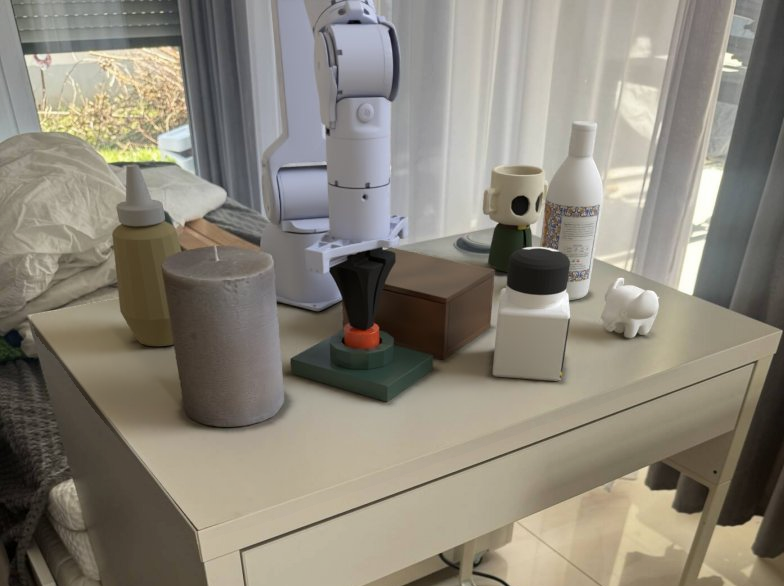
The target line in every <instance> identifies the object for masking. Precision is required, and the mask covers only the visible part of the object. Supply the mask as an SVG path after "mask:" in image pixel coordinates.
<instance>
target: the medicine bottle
mask: <svg viewBox="0 0 784 586" xmlns="http://www.w3.org/2000/svg"><path fill="white" fill-rule="evenodd" d="M569 267H570V260H569V258H568V257H567V256H566V255H565V254H563V253H562V252H560V251H558V250H555V249H551V248H546V247H540V246H532V247H527V248H523V249H520V250H518V251H515V252H514V253H512V255H511V256H510V257H509V264H508V272H507V275H506V287H504V288H501V290H500V294H499V301H498V309H497V319H496V331H495V343H494V353H493V364H492V375H493V376H494V377H501V378H512V379H524V380H537V381H552V382H559V381H561V379H562V376H563V369H564V363H565V356H566V348H567V343H568V337H569V328H570V323H571V322H570V321H571V309H570V300H569V297H568V293H567V292H566V288H567V281H568V274H569Z"/></svg>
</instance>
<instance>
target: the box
mask: <svg viewBox="0 0 784 586" xmlns="http://www.w3.org/2000/svg"><path fill="white" fill-rule="evenodd" d="M494 287H495V275H493V276H492V277H490V278H488V279H487V280H485V281H483V282H482V283H480V284H478V285H477V286H475V287H473V288H472V289H470V290H468V291H467V292H465V293H463V294H462V295H460V296H458V297H457V298H455V299H453V300H452V301H450V302H448V303H447V304H444V303H440V302H436V301H432V300H428V299H424V298H420V297H415V296H411V295H407V294H403V293H399V292H395V291H390V290H386V289H383V290H382V293H381V297H380V301H379V305H378V309H377V313H376V317H375V321H374V323H375V324H377V325H378V326H379V331H383V332H386V333H388V334H389V335H390V336H392V337H393V338H394V345H395V346H399V347H403V348H407V349H411V350H415V351H418V352H422V353H426V354H430V355H433V359H437V360H441V361H445V360H446V359H448V358H449V357H450V356H452V355H453V354H454V353H456V352H458V351H459V350H460V349H462V348H464V347H465V346H466V345H467V344H469V343H471V342H472V341H473V340H475V339H476V338H478V337H479V336H480V335H482V334H483V333H485V332H486V331H488V330H489V329H491V324H492V323H491V322H492V312H493V311H492V310H493V299H494V289H495V288H494ZM341 307H342V331H344V327H345V325H346V324H348V323H349V320H348V316H347V313H346V309H345V306H344V302H343V299H342V300H341Z"/></svg>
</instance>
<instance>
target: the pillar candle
mask: <svg viewBox="0 0 784 586" xmlns="http://www.w3.org/2000/svg"><path fill="white" fill-rule="evenodd" d="M181 251H182V252H178V253H175V254H173V255H171V256H169V257H168V258H166V259H165V260H164V261H163V263H162V265H161V268H162V274H163V280H164V287H165V293H166V299H167V304H168V311H169V316H170V323H171V329H172V335H173V343H174V344H173V349H174V354H175V361H176V367H177V373H178V379H179V385H180V391H181V400H182V405H183V410H184V412H185V413H186V415H187V416H188V417H189V418H190V419H191V420H194V421H196V422H197V423H200V424H203V425H207V426H214V427H220V428H234V427H245V426H249V425H254V424H256V423H257V424H258V423H261V422H265V421H266V420H268V419H271V418H272V417H274V416H276V415H277V414H278V412H279V411H280V409H281V408H282V407H283V405H284V403H285V390H284V389H285V388H284V375H283V361H282V351H281V339H280V326H279V315H278V304H277V303H278V301H277V300H276V291H275V276H274V267H273V265H274V263H273V262H274V261H273V259H272V257H273V256H271V255H270V254H268V253H263V252H262V251H260V250H259V249H255V248H250V247H245V246H235V245H217V244H214V245H211V246H201V247H196V248H189V249H186V250H181Z"/></svg>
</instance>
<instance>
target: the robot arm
mask: <svg viewBox="0 0 784 586" xmlns="http://www.w3.org/2000/svg"><path fill="white" fill-rule="evenodd" d="M270 8H271V11H270V12H271V19H272V22H271V23H272V32H273V42H274V43H273V44H274V51H275V52H274V54H275V55H274V56H275V63H276V75H277V88H278V97H279V109H280V118H281V119H280V121H281V129H282V133H281V134H279V136H278V137H277V138H276V139H275V140H274V141H273V142H272V143H271V144H270V145H269V146H268V147H267V148H266V149H265V150H264V152H263V154H262V155H261V156H262V157H261V159H260V163H261V195H262V202H263V208H264V213H265V216H266V218H267V220H268V221H269V222H268V223H267V224H266V225H265V226H264V228H263V230H262V233H261V236H260V245H259V247H260V250H259V251H262V252H263V253H268V254H270V255H271V256H273V257H272V259H273V261H274V262H273V263H274V265H273V267H274V276H275V291H276V300H277V303H283V304H286V305H290V306H294V307H297V308H298V307H299V308H303V309H306V310H310V311H314V312H320V311H323V310H325V309H327V308H329V307H331V306H333V305H335V304H337V303H339V302H342V299H343V302H344V306H345V309H346V313H347V316H348V320H349V323H350V326H351V327H355V328H359V329H363V330H367V329H369V328H371V327H373V325H374V321H375V317H376V313H377V309H378V305H379V301H380V297H381V293H382V290H383V287H384V284H385V282H386V279H387V277H388V275H389V273H390V271H391V269H392V267H393V266H394V264H395V262H396V254H395V253H394V252H392V251H388V250H386V249H388V248H395V247H396V246H399V245H400V239H401V240H403V239H407V238H408V237H409V216H404V215H398V214H391V104H390V103H393V102H394V101H396V99H397V97H398V95H399V90H400V86H401V79H402V78H401V77H402V57H401V56H402V55H401V47H400V46H401V45H400V41H399V37H398V32H397V29H396V26H395V25H394V23H393V22H391V21H389V20H387V19H386V16H385V15H379V14H377V10H376V7H375V3H374V0H270ZM323 126H324V127H323ZM324 131H325V132H324ZM324 133H325V135H324ZM317 162H320V163H321V162H326V164H314V165H313V164H312V165H295V166H284V165H287V164H299V163H317Z"/></svg>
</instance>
